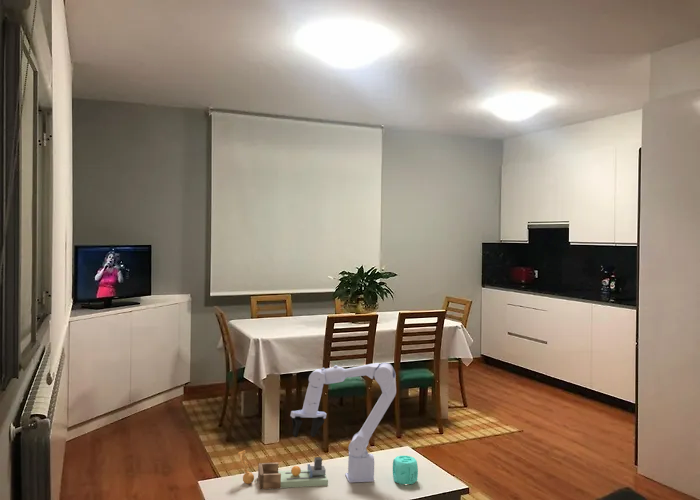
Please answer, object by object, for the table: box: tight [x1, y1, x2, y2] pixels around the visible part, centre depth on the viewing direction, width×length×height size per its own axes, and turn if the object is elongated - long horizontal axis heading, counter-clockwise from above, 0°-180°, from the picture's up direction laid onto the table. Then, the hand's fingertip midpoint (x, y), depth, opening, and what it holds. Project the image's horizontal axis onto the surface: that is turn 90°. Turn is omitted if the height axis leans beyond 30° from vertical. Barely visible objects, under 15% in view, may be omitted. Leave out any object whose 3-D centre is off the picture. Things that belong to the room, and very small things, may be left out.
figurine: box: [237, 449, 255, 485], centre depth 209 cm, size 8×6×12 cm
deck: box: [278, 469, 329, 489], centre depth 213 cm, size 17×10×2 cm, turn 102°
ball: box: [290, 465, 302, 476], centre depth 213 cm, size 4×4×4 cm
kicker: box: [306, 456, 326, 478], centre depth 214 cm, size 6×7×6 cm
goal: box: [257, 461, 281, 491], centre depth 211 cm, size 7×11×5 cm, turn 12°
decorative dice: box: [392, 455, 419, 485], centre depth 217 cm, size 8×8×8 cm
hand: (303, 435), depth 221 cm, fingers open, 7 cm apart
